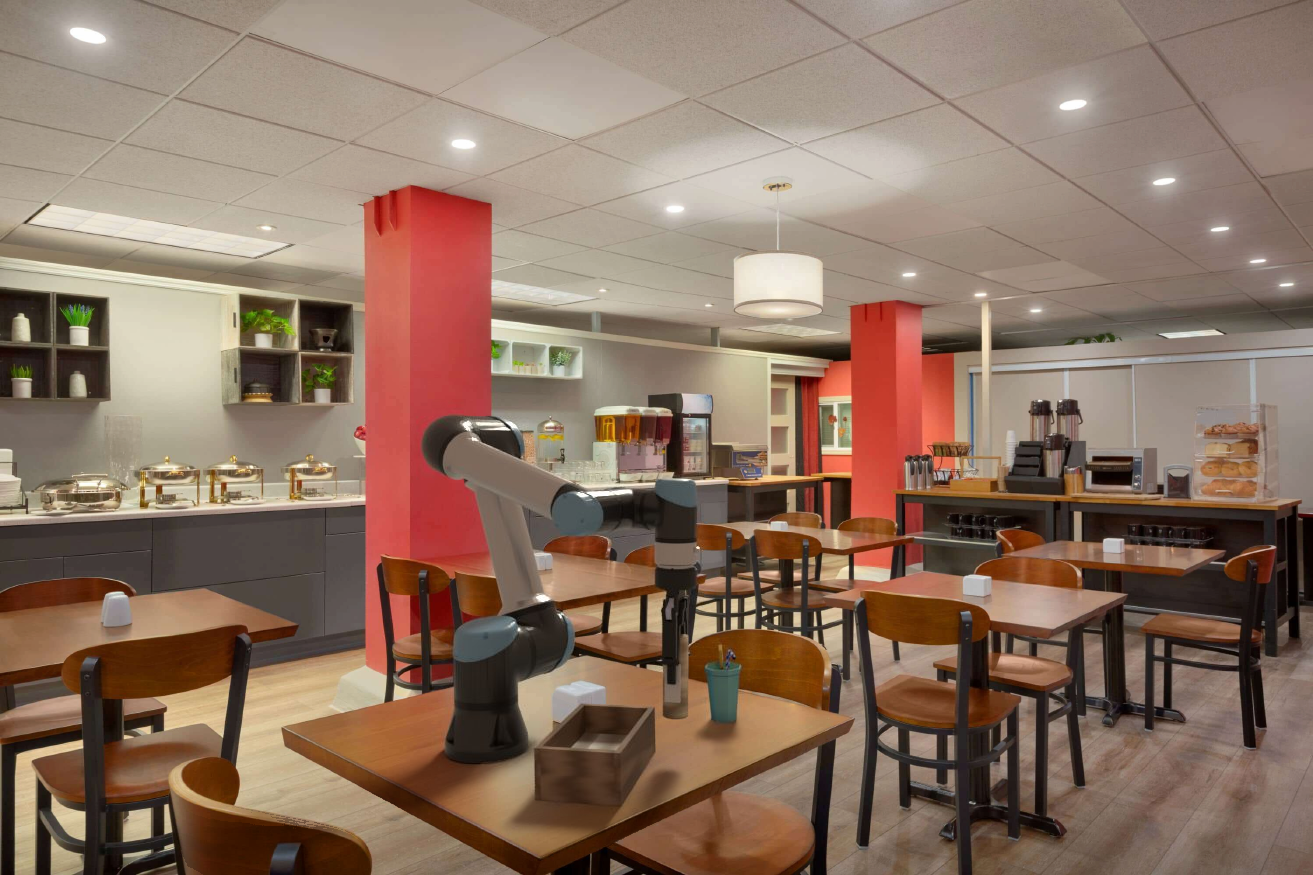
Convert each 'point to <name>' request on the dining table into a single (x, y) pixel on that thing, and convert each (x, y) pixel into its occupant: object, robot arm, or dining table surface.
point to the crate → (595, 754)
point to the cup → (723, 687)
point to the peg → (681, 708)
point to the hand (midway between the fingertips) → (675, 697)
